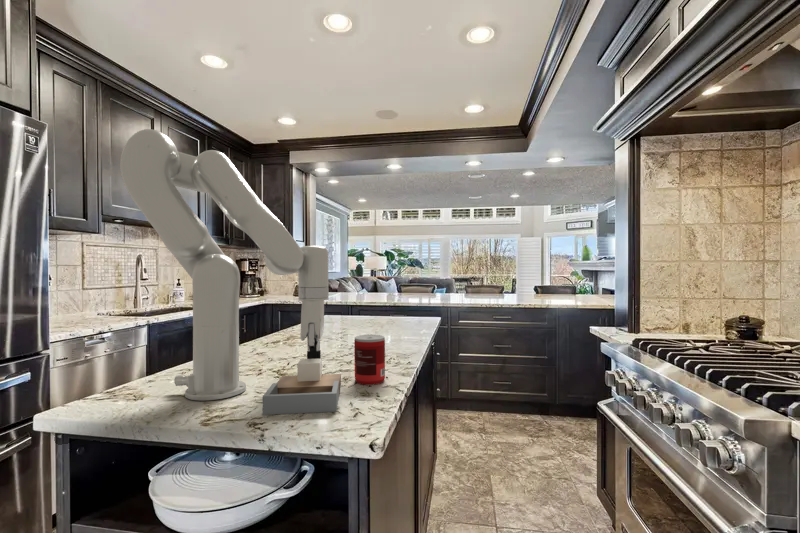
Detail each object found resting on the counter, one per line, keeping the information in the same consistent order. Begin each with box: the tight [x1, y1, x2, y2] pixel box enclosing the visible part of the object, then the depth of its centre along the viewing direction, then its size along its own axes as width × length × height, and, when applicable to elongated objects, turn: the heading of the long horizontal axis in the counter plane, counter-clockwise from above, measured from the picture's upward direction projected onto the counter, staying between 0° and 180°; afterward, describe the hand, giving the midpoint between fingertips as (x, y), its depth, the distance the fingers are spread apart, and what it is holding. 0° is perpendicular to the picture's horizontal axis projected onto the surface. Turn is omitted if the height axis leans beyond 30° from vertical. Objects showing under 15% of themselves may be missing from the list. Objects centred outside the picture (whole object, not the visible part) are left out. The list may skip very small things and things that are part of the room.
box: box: [262, 381, 340, 416], centre depth 79 cm, size 14×9×4 cm, turn 96°
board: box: [276, 373, 342, 394], centre depth 89 cm, size 14×10×2 cm
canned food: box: [353, 334, 386, 386], centre depth 98 cm, size 8×8×11 cm
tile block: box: [296, 358, 323, 382], centre depth 91 cm, size 5×5×4 cm
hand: (313, 366), depth 99 cm, fingers closed
